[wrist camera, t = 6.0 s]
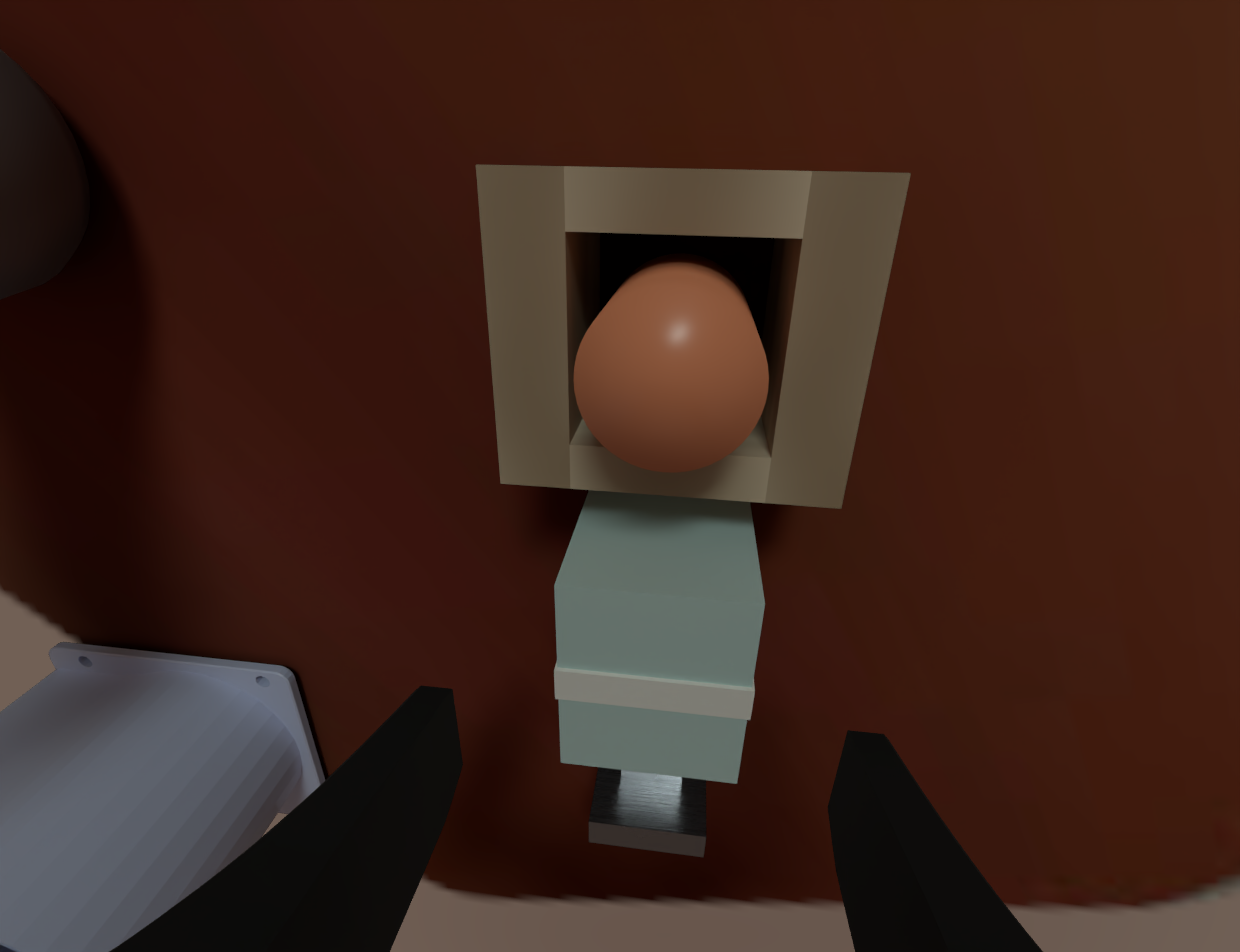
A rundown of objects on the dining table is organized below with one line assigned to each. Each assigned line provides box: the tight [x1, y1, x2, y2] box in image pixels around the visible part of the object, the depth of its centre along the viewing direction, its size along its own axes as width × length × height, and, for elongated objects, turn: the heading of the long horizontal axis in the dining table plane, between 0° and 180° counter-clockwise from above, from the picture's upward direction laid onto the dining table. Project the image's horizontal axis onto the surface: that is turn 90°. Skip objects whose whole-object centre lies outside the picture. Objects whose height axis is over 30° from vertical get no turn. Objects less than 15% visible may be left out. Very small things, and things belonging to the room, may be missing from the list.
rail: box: [589, 767, 706, 857], centre depth 17 cm, size 4×13×3 cm, turn 179°
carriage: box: [554, 490, 765, 784], centre depth 14 cm, size 4×5×4 cm
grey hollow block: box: [476, 165, 911, 509], centre depth 13 cm, size 7×6×4 cm
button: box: [574, 253, 769, 473], centre depth 11 cm, size 3×3×4 cm
